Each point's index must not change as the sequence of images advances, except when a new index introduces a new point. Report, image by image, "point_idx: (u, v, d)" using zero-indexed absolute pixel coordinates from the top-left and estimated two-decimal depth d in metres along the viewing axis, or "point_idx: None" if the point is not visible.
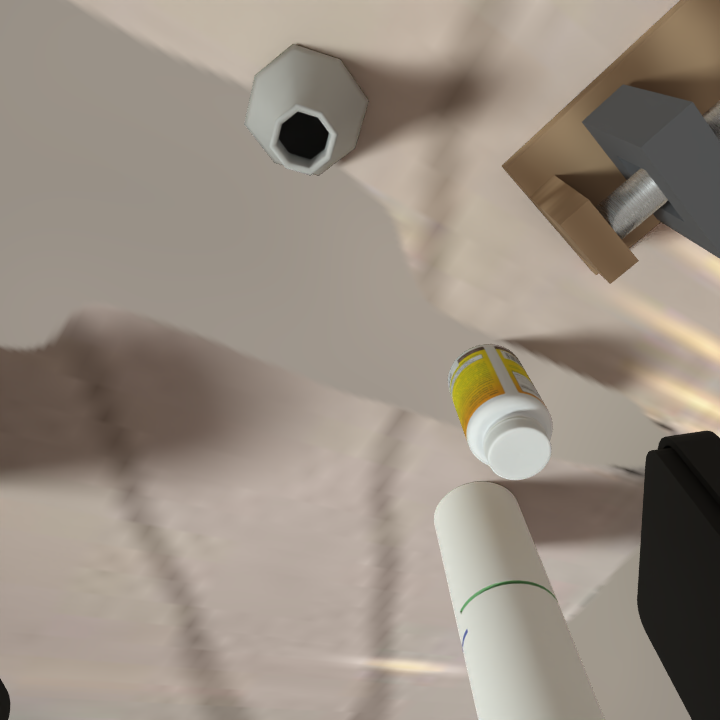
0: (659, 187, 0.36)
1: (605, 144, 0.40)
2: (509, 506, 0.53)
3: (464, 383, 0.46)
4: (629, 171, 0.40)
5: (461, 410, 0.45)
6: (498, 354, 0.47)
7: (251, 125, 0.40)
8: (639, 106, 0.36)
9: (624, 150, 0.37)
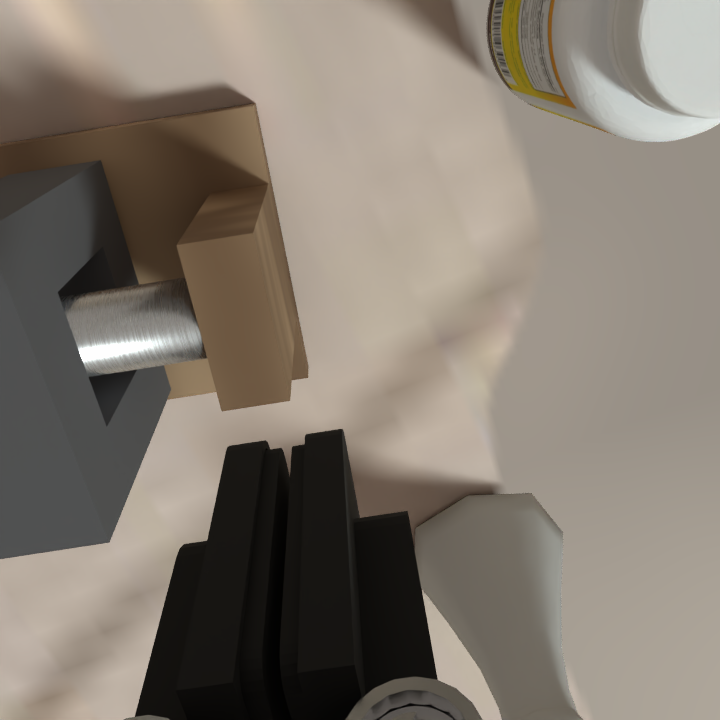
0: (90, 391, 0.18)
1: (150, 376, 0.23)
2: None
3: None
4: None
5: None
6: (519, 91, 0.21)
7: None
8: None
9: (129, 436, 0.20)
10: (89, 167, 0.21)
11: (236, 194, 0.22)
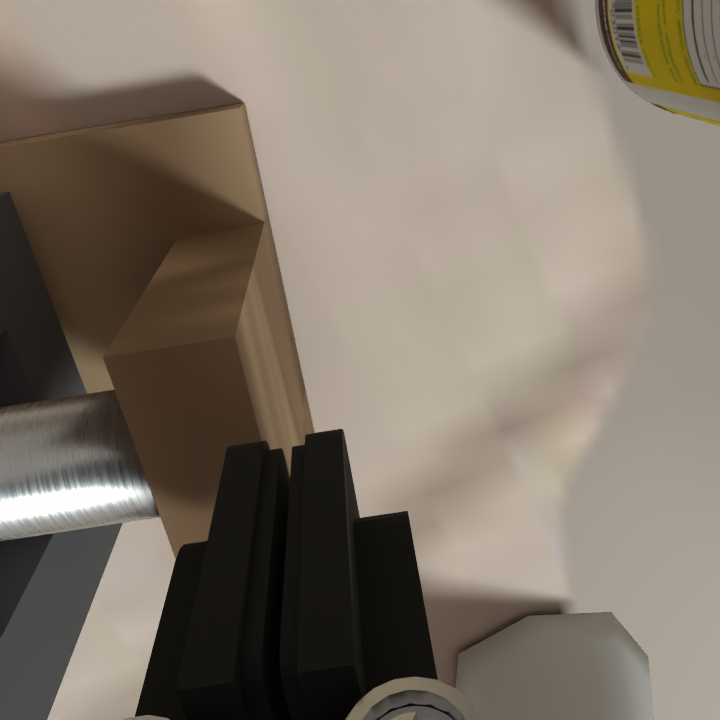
0: None
1: None
2: None
3: None
4: None
5: None
6: (650, 86, 0.14)
7: None
8: None
9: (49, 625, 0.13)
10: None
11: (216, 241, 0.15)
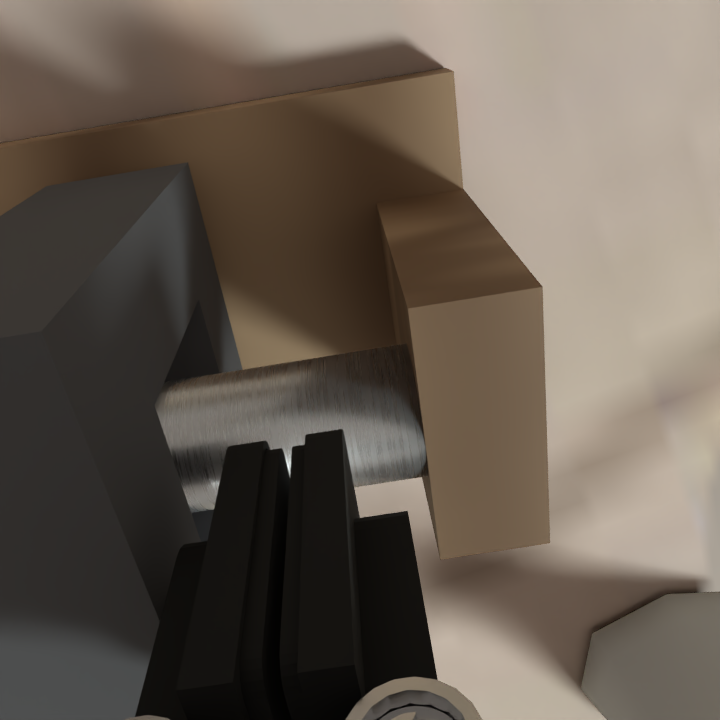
0: None
1: None
2: None
3: None
4: None
5: None
6: None
7: None
8: None
9: None
10: (177, 175, 0.13)
11: (425, 206, 0.15)
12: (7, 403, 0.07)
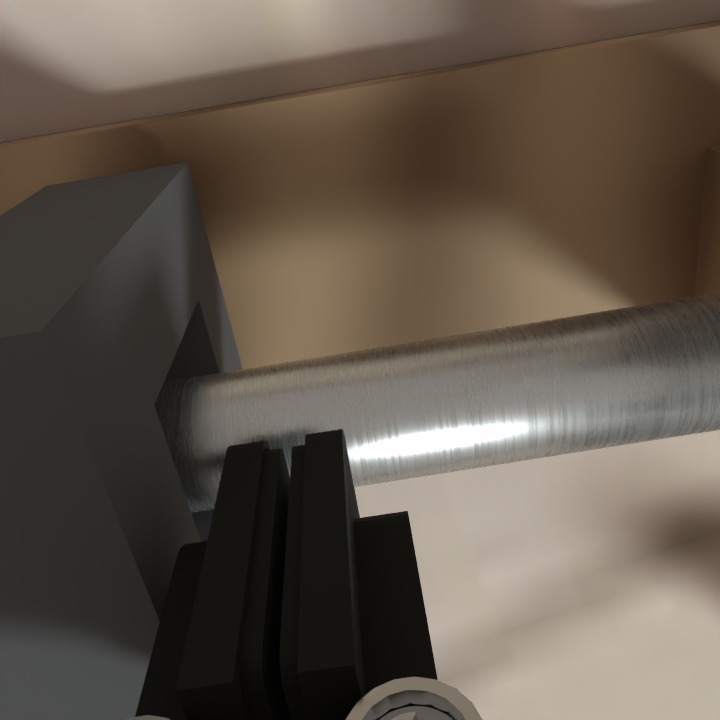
0: None
1: None
2: None
3: None
4: None
5: None
6: None
7: None
8: None
9: None
10: (176, 175, 0.13)
11: None
12: (7, 403, 0.07)
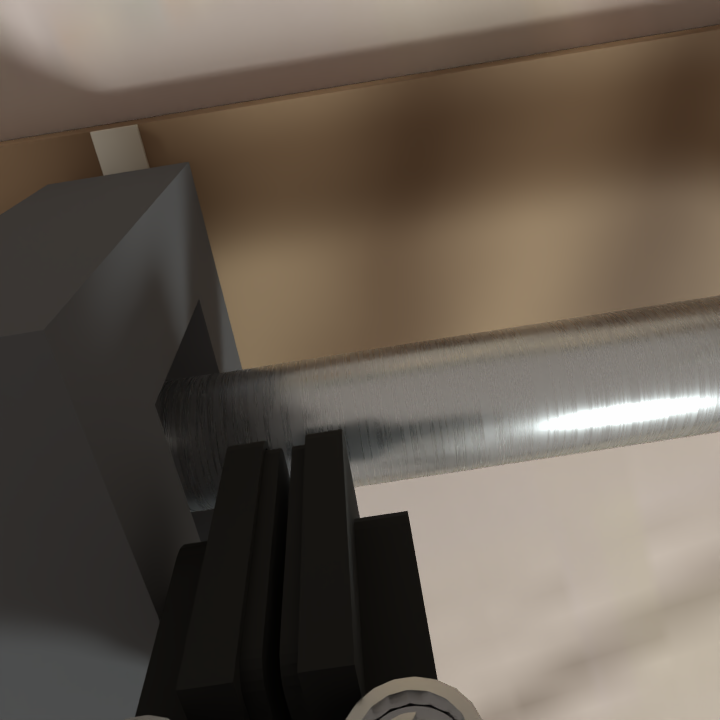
0: None
1: None
2: None
3: None
4: None
5: None
6: None
7: None
8: None
9: None
10: (178, 175, 0.13)
11: None
12: (8, 402, 0.07)
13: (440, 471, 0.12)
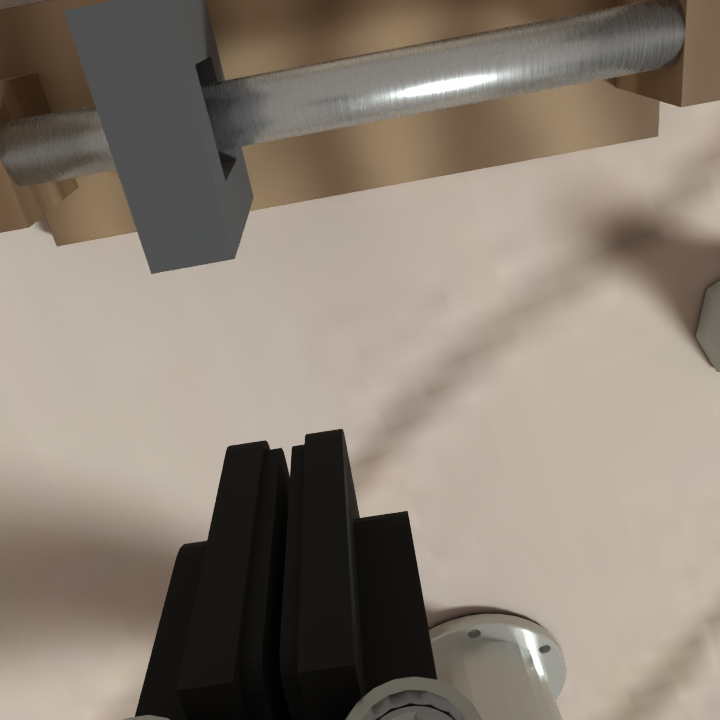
0: (216, 148, 0.24)
1: (242, 175, 0.29)
2: None
3: None
4: None
5: None
6: None
7: None
8: None
9: (236, 202, 0.26)
10: None
11: None
12: (149, 22, 0.20)
13: (330, 120, 0.25)
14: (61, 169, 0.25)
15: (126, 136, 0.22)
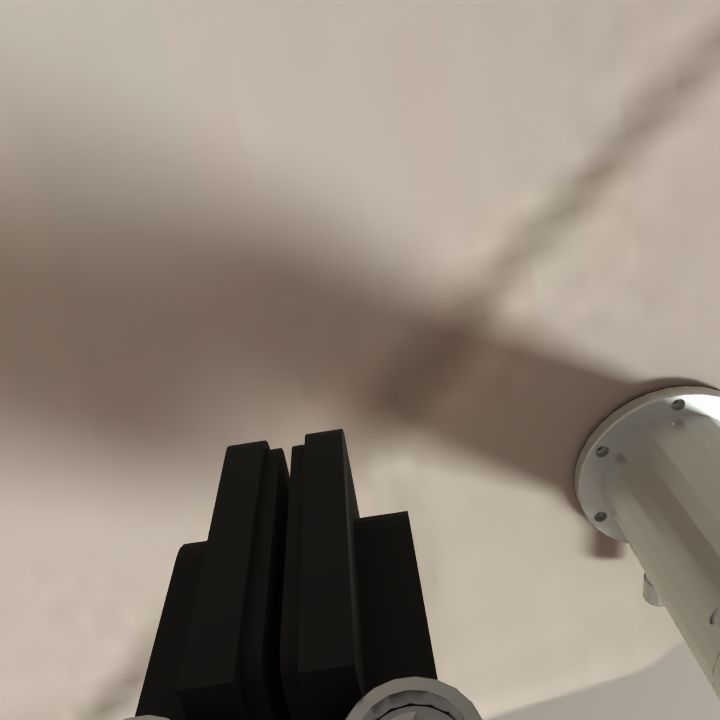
0: None
1: None
2: None
3: None
4: None
5: None
6: None
7: None
8: None
9: None
10: None
11: None
12: None
13: None
14: None
15: None
